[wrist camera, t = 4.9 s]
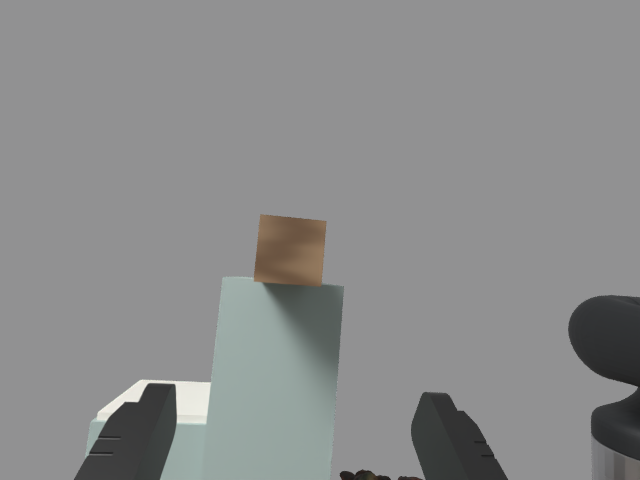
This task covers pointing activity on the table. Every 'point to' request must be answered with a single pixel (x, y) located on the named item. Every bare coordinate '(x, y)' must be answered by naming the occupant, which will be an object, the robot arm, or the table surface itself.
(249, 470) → the stand
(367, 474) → the bookend
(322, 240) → the walnut bar
